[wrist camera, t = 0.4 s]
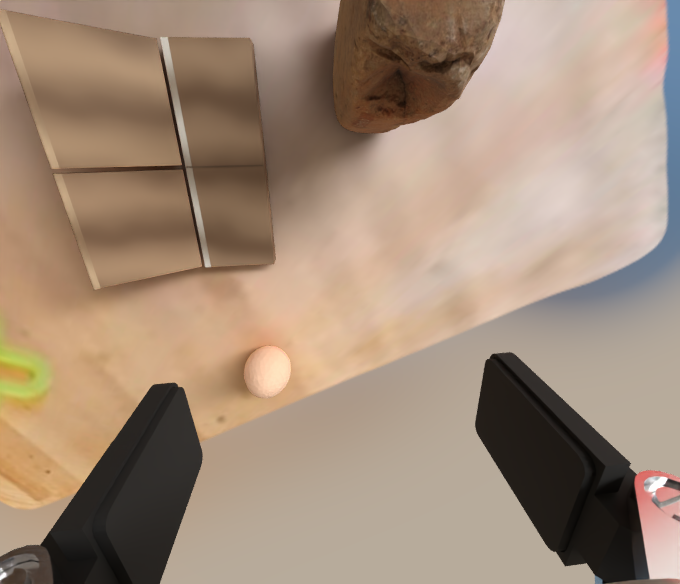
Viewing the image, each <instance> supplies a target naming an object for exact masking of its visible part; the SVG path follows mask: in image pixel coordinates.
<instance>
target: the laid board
mask: <svg viewBox="0 0 680 584" xmlns="http://www.w3.org/2000/svg"><path fill="white" fill-rule="evenodd" d="M160 41H161V46H162V51H163V56H164V61H165V66H166V71H167V76H168V81H169V86H170V91H171V96H172V102H173V107H174V112H175V117H176V122H177V127H178V132H179V137H180V142H181V147H182V152H183V157H184V162H185V168H186V173H187V178H188V183H189V188H190V193H191V198H192V203H193V208H194V213H195V218H196V223H197V228H198V233H199V238H200V244H201V249H202V254H203V259H204V264H205V267H220V266H242V265H263V264H274V263H275V260H276V256H275V246H274V237H273V227H272V217H271V208H270V198H269V189H268V179H267V169H266V160H265V150H264V141H263V131H262V121H261V112H260V102H259V92H258V83H257V73H256V64H255V54H254V45H253V43H252V41H251V39H250V38H186V37H160Z"/></svg>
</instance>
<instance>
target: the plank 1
mask: <svg viewBox="0 0 680 584" xmlns="http://www.w3.org/2000/svg"><path fill="white" fill-rule="evenodd" d="M0 26H1V29H2V31H3V34H4V37H5V40H6V43H7V46H8V48H9V51H10V54H11V57H12V60H13V63H14V65H15V68H16V71H17V74H18V77H19V80H20V82H21V85H22V88H23V91H24V94H25V97H26V99H27V102H28V105H29V108H30V111H31V114H32V116H33V119H34V122H35V125H36V128H37V131H38V133H39V136H40V139H41V142H42V145H43V148H44V150H45V153H46V156H47V159H48V162H49V165H50V167H51V169H62V168H98V167H134V166H170V165H182V163H181V158H180V153H179V148H178V143H177V138H176V133H175V128H174V123H173V118H172V113H171V108H170V103H169V98H168V93H167V88H166V83H165V78H164V73H163V68H162V64H161V59H160V54H159V49H158V44H157V39H155V38H150V37H145V36H139V35H134V34H129V33H123V32H118V31H113V30H107V29H102V28H97V27H91V26H86V25H81V24H75V23H70V22H65V21H59V20H54V19H49V18H43V17H38V16H33V15H27V14H22V13H17V12H11V11H6V10H2V9H0Z"/></svg>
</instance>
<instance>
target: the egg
mask: <svg viewBox="0 0 680 584" xmlns="http://www.w3.org/2000/svg"><path fill="white" fill-rule="evenodd" d="M290 373H291V365H290V360H289V358H288V356H287V355H286V353H285V352H284V351H283V350H281V349H280V348H278V347H275V346H263V347H260V348H258V349H257V350H255V351H254V352H253V353H252V354H251V355H250V356H249V358H248V359H247V361H246V364H245V368H244V380H245V383H246V385H247V387H248V389H249V390H250V392H251V393H252V394H253V395H255V396H256V397H259V398H271V397H273V396H275V395H277V394H278V393H280V392H281V391H282V390H283V389H284V387H285V386H286V385H287V383H288V380H289V378H290Z"/></svg>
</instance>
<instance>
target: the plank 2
mask: <svg viewBox="0 0 680 584" xmlns="http://www.w3.org/2000/svg"><path fill="white" fill-rule="evenodd" d="M53 176H54V179H55V182H56V184H57V187H58V190H59V193H60V196H61V199H62V201H63V204H64V207H65V210H66V213H67V216H68V218H69V221H70V224H71V227H72V230H73V233H74V235H75V238H76V241H77V244H78V247H79V250H80V252H81V255H82V258H83V261H84V264H85V267H86V269H87V272H88V275H89V278H90V281H91V284H92V286H93V289H94V290H96V289H101V288H105V287H109V286H114V285H118V284H123V283H128V282H132V281H137V280H142V279H146V278H151V277H156V276H160V275H165V274H170V273H174V272H179V271H184V270H188V269H193V268H198V267H202V263H201V258H200V253H199V248H198V243H197V238H196V233H195V228H194V223H193V218H192V213H191V208H190V203H189V198H188V193H187V188H186V183H185V178H184V173H183V169H171V170H143V171H114V172H85V173H56V174H53Z"/></svg>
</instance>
